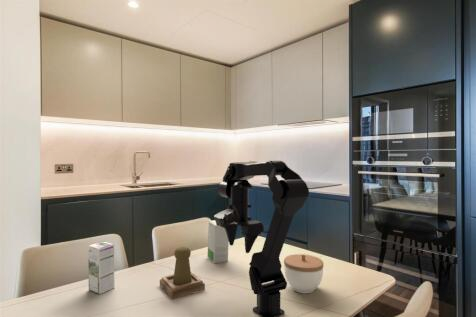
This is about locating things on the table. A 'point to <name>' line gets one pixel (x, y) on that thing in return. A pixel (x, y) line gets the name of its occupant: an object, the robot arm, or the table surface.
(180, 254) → the olive pear-shaped figure
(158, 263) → the table surface
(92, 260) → the syrup box
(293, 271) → the lidded bowl
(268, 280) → the robot arm
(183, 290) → the square wooden tray
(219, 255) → the skincare box
